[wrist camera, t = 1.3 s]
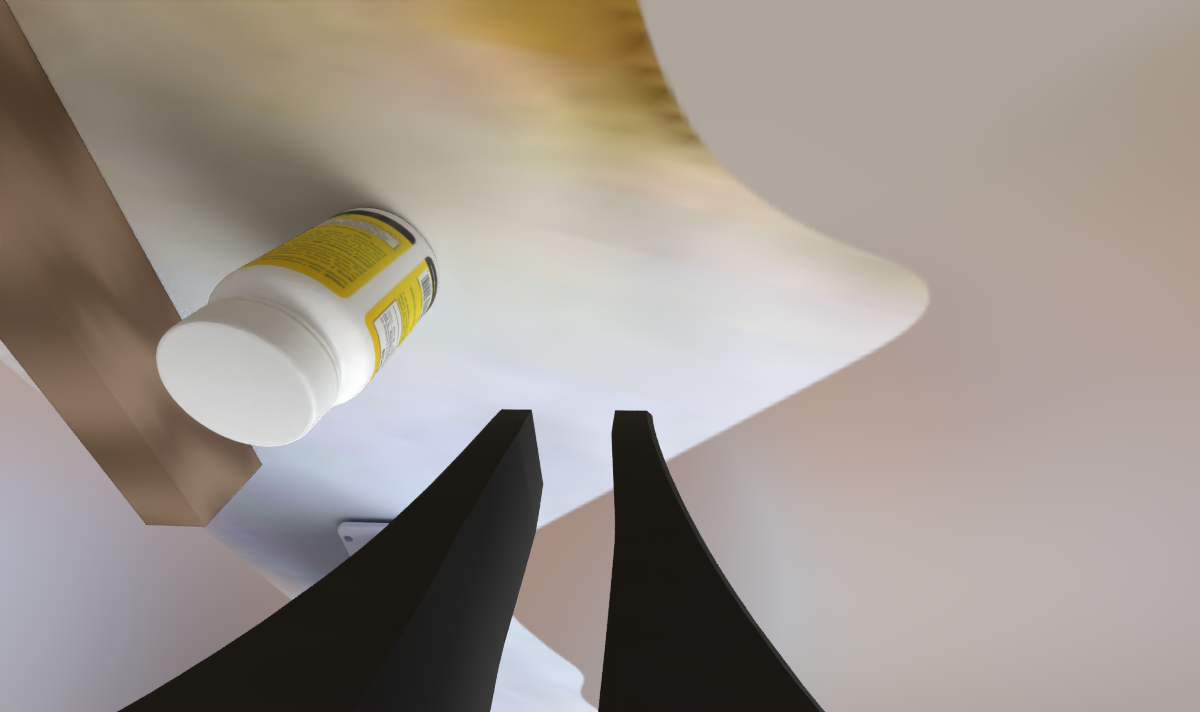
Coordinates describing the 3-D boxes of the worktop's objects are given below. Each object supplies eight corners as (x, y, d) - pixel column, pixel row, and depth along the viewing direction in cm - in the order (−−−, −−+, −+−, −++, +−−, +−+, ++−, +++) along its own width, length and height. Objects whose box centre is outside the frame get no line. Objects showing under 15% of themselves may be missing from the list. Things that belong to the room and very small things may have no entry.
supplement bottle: (298, 234, 19) (93, 342, 12) (394, 184, 18) (228, 272, 11) (374, 334, 21) (239, 476, 14) (465, 296, 20) (365, 431, 13)
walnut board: (261, 465, 26) (205, 526, 23) (210, 464, 27) (146, 524, 23) (-38, -75, 15) (-240, -112, 11) (-123, -67, 15) (-346, -100, 12)
